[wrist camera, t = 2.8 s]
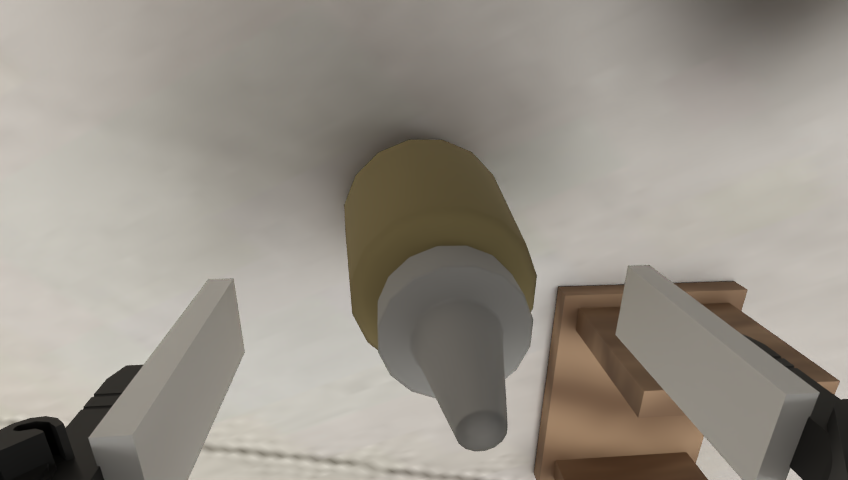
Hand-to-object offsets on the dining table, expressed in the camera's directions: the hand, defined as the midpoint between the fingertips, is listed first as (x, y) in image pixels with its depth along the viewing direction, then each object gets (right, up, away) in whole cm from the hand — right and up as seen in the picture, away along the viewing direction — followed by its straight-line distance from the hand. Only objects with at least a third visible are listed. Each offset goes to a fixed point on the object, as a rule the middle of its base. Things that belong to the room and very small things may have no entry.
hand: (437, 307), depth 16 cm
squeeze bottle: (-1, +5, +11) cm, 12 cm away
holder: (+14, -8, +18) cm, 24 cm away
